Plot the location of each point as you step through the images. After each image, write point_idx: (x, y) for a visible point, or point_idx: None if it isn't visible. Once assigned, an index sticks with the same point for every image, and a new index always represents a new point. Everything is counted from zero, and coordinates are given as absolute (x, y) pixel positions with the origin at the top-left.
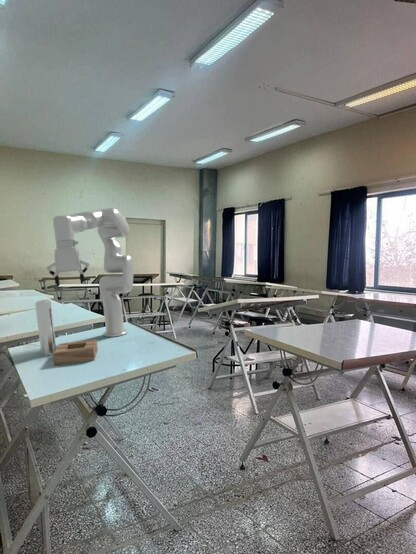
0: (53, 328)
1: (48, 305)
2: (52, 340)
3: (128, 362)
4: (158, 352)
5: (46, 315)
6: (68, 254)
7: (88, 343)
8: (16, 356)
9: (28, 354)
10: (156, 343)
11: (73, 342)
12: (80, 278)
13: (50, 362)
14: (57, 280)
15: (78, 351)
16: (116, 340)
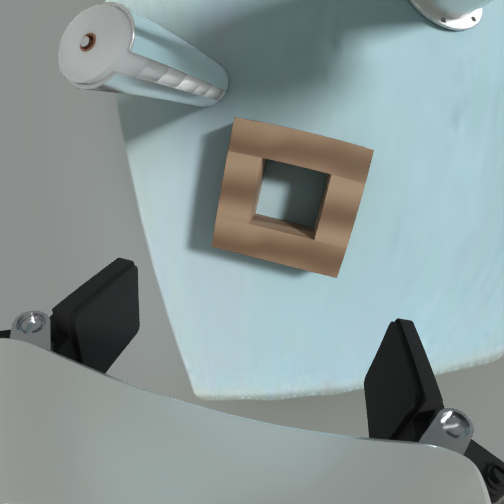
0: (198, 74)
1: (130, 67)
2: (205, 88)
3: None
4: (481, 305)
5: (143, 90)
6: None
7: (335, 195)
8: None
9: None
10: None
11: (284, 135)
12: (371, 423)
13: (210, 193)
14: (104, 365)
15: (290, 265)
16: (440, 76)
